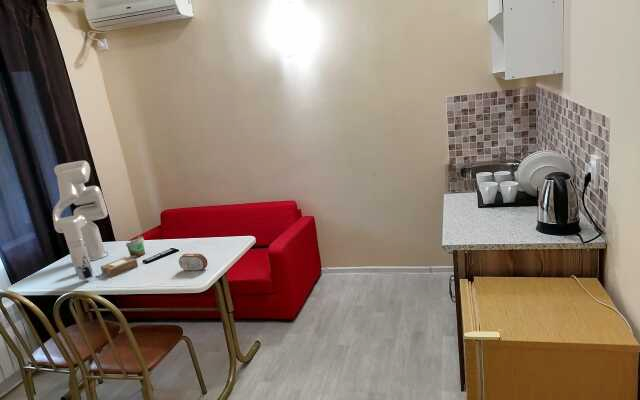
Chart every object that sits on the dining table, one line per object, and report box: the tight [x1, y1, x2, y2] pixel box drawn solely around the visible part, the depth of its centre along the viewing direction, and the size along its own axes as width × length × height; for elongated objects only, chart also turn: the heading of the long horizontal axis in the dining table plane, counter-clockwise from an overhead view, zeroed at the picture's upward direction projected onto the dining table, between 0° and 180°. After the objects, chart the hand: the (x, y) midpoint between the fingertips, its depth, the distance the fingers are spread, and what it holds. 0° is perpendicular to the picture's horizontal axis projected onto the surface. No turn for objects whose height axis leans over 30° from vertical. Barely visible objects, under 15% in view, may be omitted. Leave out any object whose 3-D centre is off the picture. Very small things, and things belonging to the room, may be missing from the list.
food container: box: [125, 235, 146, 259], centre depth 264 cm, size 12×6×10 cm, turn 168°
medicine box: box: [73, 255, 93, 276], centre depth 250 cm, size 8×4×9 cm, turn 118°
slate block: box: [76, 266, 94, 281], centre depth 235 cm, size 5×5×6 cm
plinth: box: [100, 256, 139, 278], centre depth 244 cm, size 12×14×4 cm
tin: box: [178, 253, 209, 272], centre depth 226 cm, size 15×3×8 cm, turn 71°
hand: (85, 276), depth 235 cm, fingers closed on slate block, 5 cm apart
